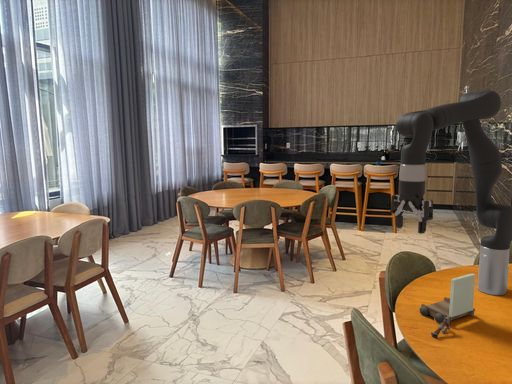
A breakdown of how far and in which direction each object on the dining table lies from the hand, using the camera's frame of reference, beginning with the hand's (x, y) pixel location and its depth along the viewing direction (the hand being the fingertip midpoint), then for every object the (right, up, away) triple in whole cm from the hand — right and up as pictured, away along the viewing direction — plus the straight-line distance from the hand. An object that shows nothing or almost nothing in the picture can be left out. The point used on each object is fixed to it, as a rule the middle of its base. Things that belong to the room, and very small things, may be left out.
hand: (410, 230), depth 119 cm
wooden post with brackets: (+7, -31, -6) cm, 32 cm away
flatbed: (+14, -28, +6) cm, 32 cm away
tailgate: (+16, -27, +1) cm, 31 cm away
